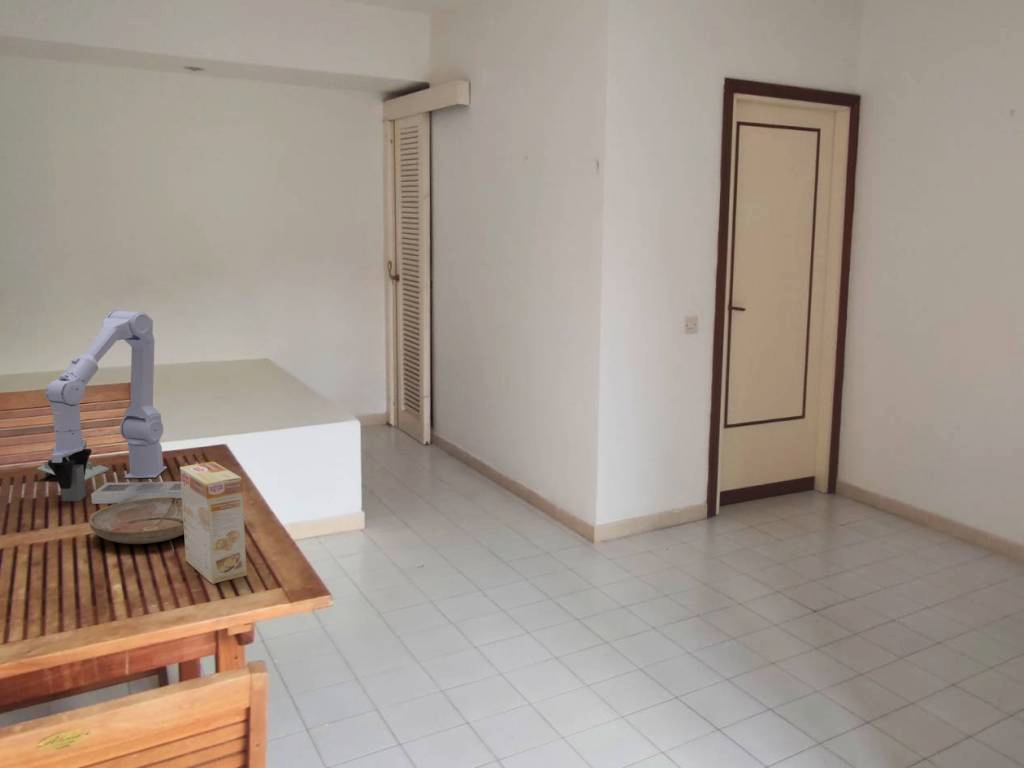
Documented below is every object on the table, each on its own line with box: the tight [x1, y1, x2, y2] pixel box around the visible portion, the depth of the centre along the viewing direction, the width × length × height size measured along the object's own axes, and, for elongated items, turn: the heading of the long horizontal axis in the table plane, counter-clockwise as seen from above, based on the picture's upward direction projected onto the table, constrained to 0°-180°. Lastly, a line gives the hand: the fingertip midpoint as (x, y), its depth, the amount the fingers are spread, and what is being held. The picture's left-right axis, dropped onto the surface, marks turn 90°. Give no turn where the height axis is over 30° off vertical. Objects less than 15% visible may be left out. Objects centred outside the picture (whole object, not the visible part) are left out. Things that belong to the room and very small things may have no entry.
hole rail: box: [90, 480, 182, 505], centre depth 207 cm, size 9×24×2 cm, turn 94°
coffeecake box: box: [179, 461, 248, 585], centre depth 162 cm, size 15×7×20 cm, turn 39°
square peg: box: [60, 465, 87, 502], centre depth 205 cm, size 4×4×8 cm
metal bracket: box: [36, 457, 110, 482], centre depth 224 cm, size 14×6×15 cm
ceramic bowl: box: [88, 497, 184, 545], centre depth 182 cm, size 23×24×5 cm
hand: (72, 483), depth 205 cm, fingers open, 7 cm apart
